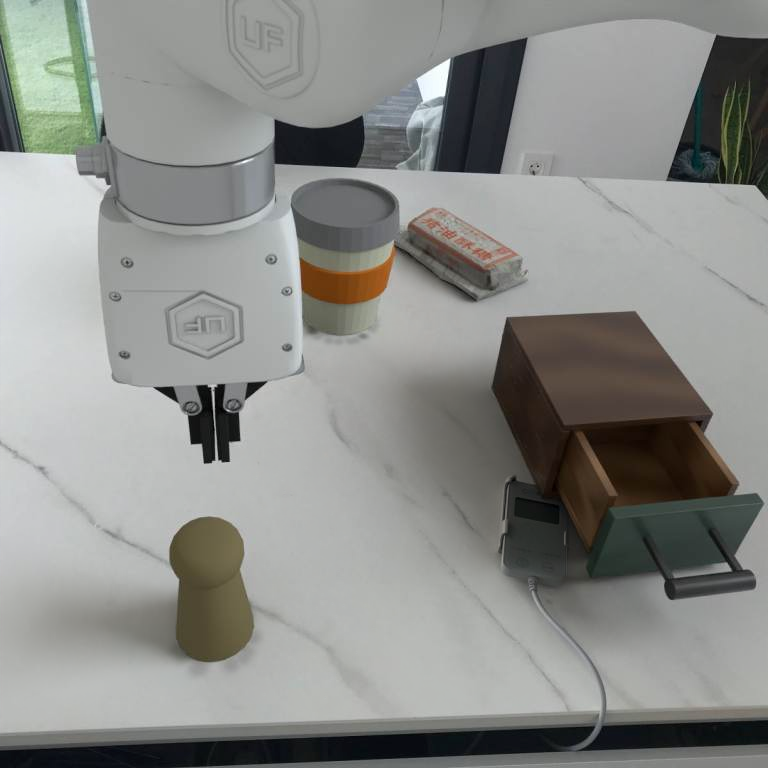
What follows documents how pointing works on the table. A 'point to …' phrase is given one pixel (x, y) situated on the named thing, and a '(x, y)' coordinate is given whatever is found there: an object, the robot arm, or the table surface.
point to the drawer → (657, 505)
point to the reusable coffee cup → (344, 251)
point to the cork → (210, 590)
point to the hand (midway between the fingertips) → (216, 446)
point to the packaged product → (461, 254)
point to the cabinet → (585, 383)
